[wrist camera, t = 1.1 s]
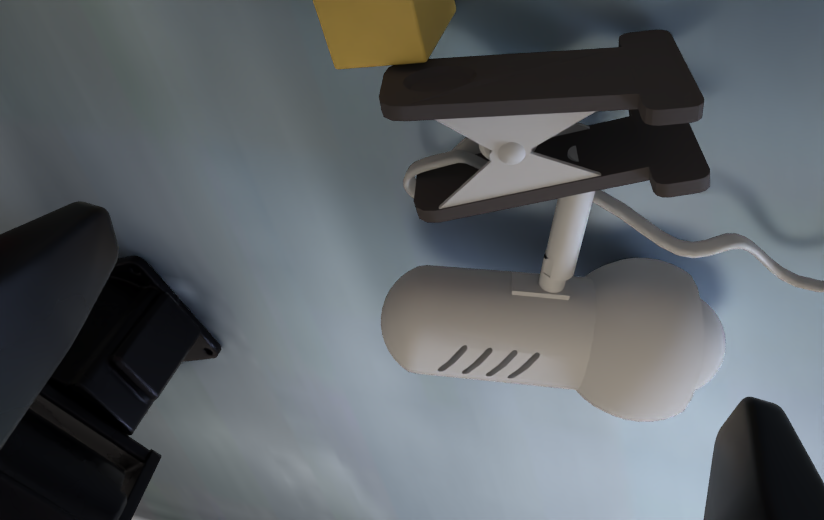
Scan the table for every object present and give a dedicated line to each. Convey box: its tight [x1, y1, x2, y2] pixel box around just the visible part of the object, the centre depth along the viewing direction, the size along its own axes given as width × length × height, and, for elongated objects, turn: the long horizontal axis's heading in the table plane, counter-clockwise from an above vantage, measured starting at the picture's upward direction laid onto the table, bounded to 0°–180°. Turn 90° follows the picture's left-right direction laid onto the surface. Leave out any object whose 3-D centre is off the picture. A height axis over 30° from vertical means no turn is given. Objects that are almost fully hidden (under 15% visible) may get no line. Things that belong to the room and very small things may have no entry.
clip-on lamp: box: [379, 30, 824, 422], centre depth 20 cm, size 12×6×18 cm
